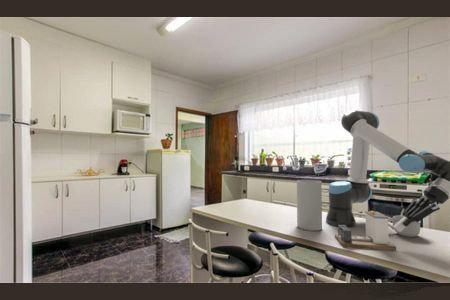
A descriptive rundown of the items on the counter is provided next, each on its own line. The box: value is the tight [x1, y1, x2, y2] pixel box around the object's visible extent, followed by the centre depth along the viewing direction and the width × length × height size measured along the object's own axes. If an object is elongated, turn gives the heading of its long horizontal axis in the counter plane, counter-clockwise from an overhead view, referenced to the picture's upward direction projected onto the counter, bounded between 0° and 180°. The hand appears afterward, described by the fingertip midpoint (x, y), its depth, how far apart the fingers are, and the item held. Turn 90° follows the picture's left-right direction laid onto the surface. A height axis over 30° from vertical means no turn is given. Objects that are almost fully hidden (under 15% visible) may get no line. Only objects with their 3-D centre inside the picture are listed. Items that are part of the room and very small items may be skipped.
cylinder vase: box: [296, 179, 323, 232], centre depth 121 cm, size 12×12×25 cm
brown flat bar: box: [339, 235, 390, 243], centre depth 99 cm, size 3×19×1 cm, turn 80°
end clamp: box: [337, 225, 353, 242], centre depth 100 cm, size 8×3×5 cm, turn 170°
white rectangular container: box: [364, 210, 390, 244], centre depth 98 cm, size 9×5×12 cm, turn 170°
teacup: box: [387, 215, 422, 238], centre depth 110 cm, size 14×11×8 cm
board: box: [334, 233, 397, 251], centre depth 99 cm, size 12×20×2 cm, turn 80°
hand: (396, 229), depth 96 cm, fingers closed
